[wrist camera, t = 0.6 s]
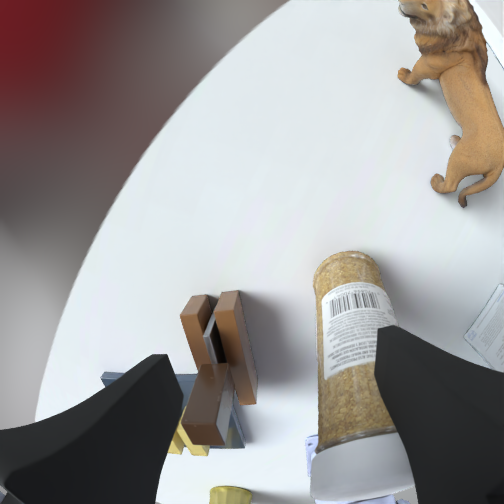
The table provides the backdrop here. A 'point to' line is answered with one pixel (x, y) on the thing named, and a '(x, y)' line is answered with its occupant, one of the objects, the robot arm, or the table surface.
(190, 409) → the knife
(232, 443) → the dark square plate
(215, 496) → the vase
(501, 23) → the computer
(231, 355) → the brown slab pair
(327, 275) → the sprinkles bottle
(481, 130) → the lion figurine
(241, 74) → the table surface
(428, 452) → the robot arm
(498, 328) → the light bulb box
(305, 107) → the table surface
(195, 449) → the butter slice
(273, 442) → the table surface
